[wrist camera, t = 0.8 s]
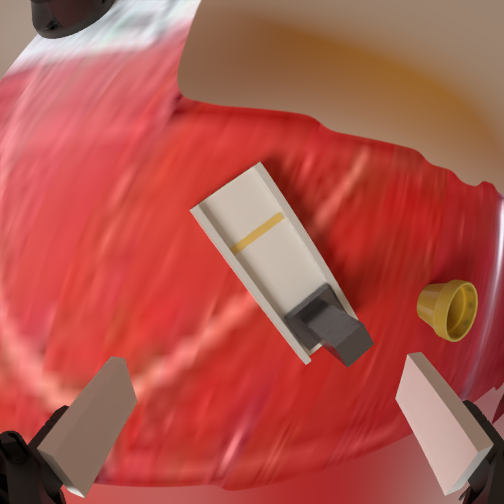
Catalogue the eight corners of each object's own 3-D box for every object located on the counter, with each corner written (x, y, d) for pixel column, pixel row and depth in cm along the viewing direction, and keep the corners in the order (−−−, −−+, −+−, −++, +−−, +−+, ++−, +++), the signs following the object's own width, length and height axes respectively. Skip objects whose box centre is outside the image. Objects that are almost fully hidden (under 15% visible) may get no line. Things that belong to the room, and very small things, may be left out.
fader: (283, 317, 38) (318, 349, 28) (323, 284, 39) (368, 305, 29) (305, 346, 39) (341, 382, 29) (342, 315, 40) (386, 341, 30)
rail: (189, 210, 35) (190, 209, 32) (253, 166, 37) (260, 161, 34) (297, 355, 42) (306, 364, 39) (347, 313, 43) (358, 320, 40)
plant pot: (398, 312, 46) (437, 327, 36) (424, 263, 46) (464, 270, 37) (424, 335, 48) (459, 350, 39) (447, 291, 49) (483, 299, 39)
